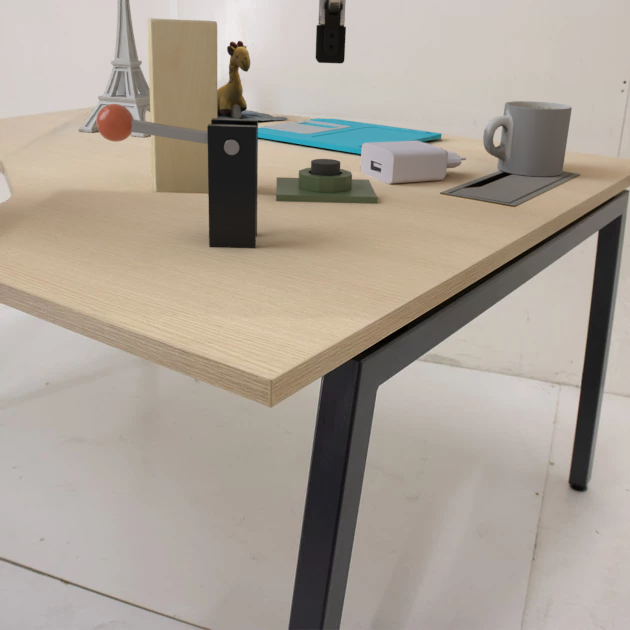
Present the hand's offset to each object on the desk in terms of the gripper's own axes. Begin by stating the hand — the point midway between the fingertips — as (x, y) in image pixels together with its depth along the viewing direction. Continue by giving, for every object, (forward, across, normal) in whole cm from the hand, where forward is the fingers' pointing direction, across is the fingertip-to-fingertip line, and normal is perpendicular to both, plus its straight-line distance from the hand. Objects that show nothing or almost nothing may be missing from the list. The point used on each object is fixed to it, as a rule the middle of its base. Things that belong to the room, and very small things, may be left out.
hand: (329, 60), depth 93 cm
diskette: (+17, -53, +6) cm, 56 cm away
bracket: (+17, +22, -10) cm, 30 cm away
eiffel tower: (+17, -56, -34) cm, 68 cm away
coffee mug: (+17, -26, +32) cm, 45 cm away
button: (+14, 0, 0) cm, 14 cm away
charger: (+17, -19, +15) cm, 30 cm away
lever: (+7, +22, -16) cm, 28 cm away
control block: (+17, 0, 0) cm, 17 cm away
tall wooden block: (+17, -6, -18) cm, 26 cm away
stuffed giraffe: (+17, -77, -16) cm, 81 cm away
